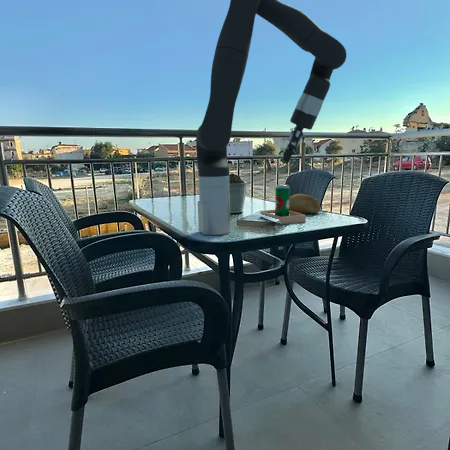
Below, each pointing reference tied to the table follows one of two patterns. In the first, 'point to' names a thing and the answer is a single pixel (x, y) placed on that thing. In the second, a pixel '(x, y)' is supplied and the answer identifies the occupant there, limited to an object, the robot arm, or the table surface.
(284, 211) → the soda can
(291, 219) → the tray
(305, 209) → the bread roll
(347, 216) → the table surface
